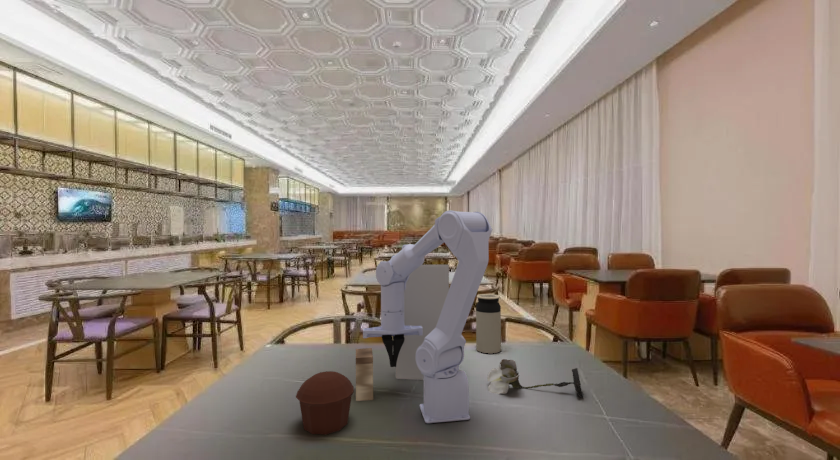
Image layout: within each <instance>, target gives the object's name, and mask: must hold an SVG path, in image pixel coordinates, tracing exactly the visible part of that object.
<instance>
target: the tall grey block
mask: <svg viewBox="0 0 840 460" xmlns="http://www.w3.org/2000/svg"><path fill="white" fill-rule="evenodd" d="M449 288H450V264H422V265H421V266H420V267H418V268H417V269H416V270H414V271H413V272H412V273H411V274H409V279H408V281H407V283H406V288H405V291H404V325H405V326H422V328H423V335H420V336H419V335H405V336H404V338H405V340H404V343H403V345H402V347H401V349H400V352H399V355H398V359H397V364H396V367H395V379H396V380H414V381H415V380H418V381H419V380H421V381H424V375H423V374H421V371H420V370H419V368H418V366H417V364H416V358H415V356H416V351H417V349H418V347H419V346H421V345H422V343H423V341H424V339H425V337H426V336H427V335H428V334H429V333H430V332H431V331H433V330H434V329H435V328H436V325H437V322H438V319H439V317H440V314H441V311H442V308H443V305H444V302H445V300H446V297H447V294H448V291H449Z"/></svg>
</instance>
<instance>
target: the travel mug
mask: <svg viewBox="0 0 840 460" xmlns="http://www.w3.org/2000/svg"><path fill="white" fill-rule="evenodd" d="M476 298H477V303H476V305H475V317H476V318H475V321H476V322H475V328H476V329H475V331H476V332H475V333H476V335H475V336H476V337H475V338H476V339H475V340H476V342H475V343H476V345H475V347H476V351H478V352H479V353H481V352H482V353H481V354H486V353H488V354H492V355H493V353H494V354H498V353H500V352H501V351H502V331H501V330H502V323H501V322H502V321H501V320H502V317H501V315H502V314H501V313H502V310H501V309H502V307H501V304H500V302H499V299H500V298H501V297H500V295H498V294H492V293H482V294H480V293H479V294H476ZM488 354H487V355H488Z"/></svg>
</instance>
